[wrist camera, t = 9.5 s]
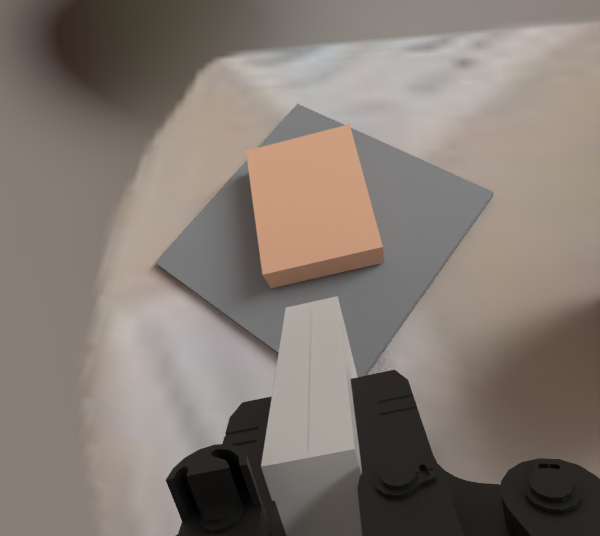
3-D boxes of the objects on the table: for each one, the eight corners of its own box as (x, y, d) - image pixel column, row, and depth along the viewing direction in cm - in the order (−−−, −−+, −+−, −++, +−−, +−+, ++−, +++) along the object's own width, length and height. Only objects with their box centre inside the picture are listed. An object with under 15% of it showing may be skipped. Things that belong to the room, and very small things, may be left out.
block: (271, 290, 39) (254, 171, 45) (384, 264, 39) (353, 146, 44) (262, 274, 37) (245, 151, 43) (382, 246, 36) (349, 124, 42)
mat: (298, 108, 48) (297, 103, 48) (492, 196, 40) (493, 192, 39) (158, 265, 43) (155, 262, 43) (346, 403, 35) (345, 401, 34)
